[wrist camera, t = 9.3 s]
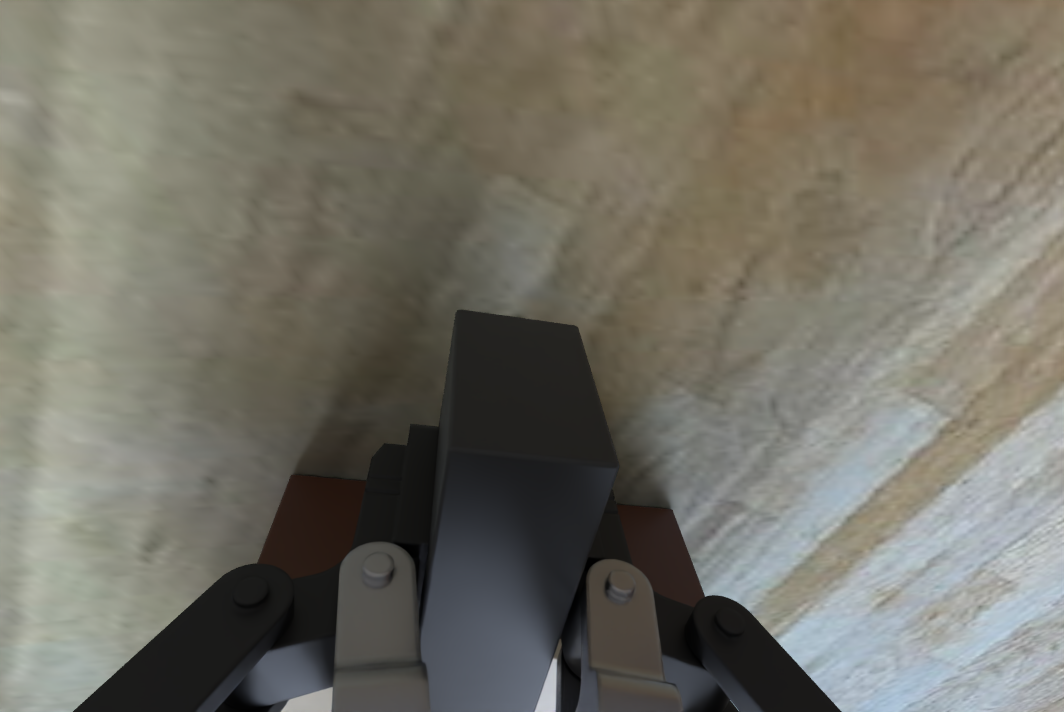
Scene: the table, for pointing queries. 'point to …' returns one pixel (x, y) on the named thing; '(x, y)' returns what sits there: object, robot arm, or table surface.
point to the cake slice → (313, 542)
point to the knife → (510, 509)
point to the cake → (646, 569)
